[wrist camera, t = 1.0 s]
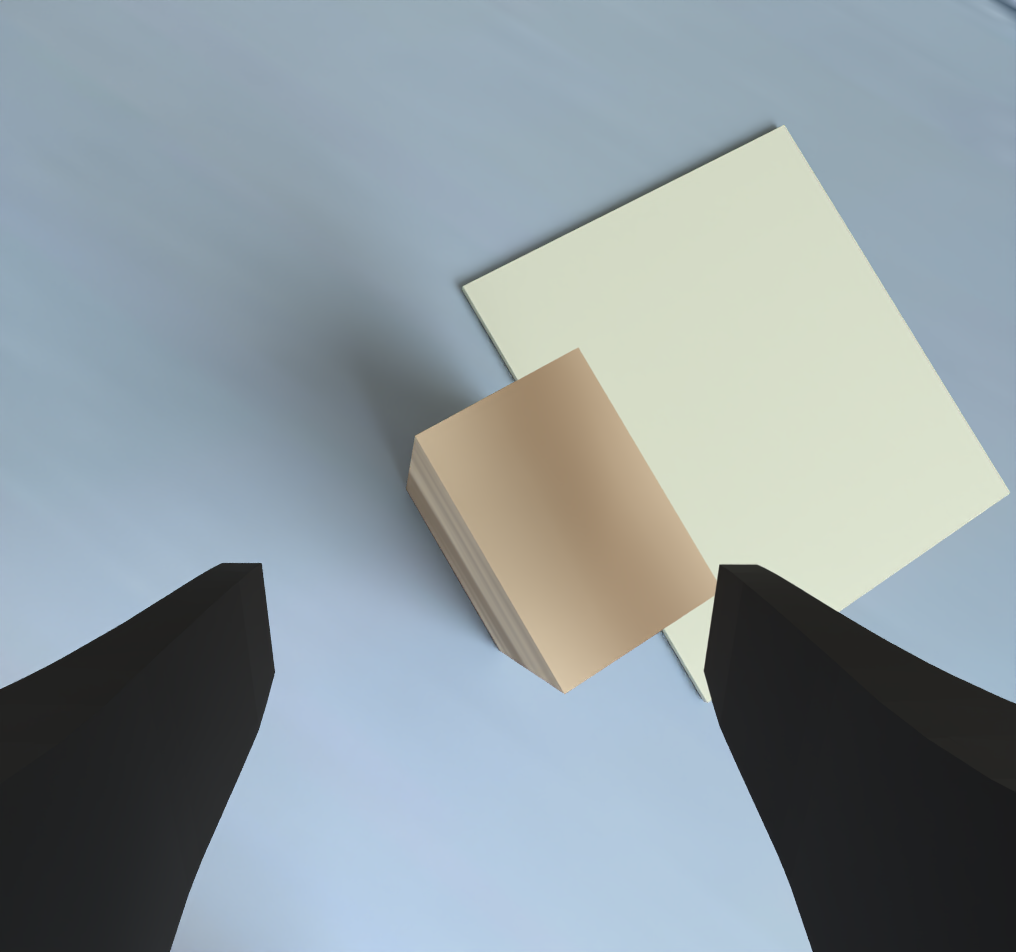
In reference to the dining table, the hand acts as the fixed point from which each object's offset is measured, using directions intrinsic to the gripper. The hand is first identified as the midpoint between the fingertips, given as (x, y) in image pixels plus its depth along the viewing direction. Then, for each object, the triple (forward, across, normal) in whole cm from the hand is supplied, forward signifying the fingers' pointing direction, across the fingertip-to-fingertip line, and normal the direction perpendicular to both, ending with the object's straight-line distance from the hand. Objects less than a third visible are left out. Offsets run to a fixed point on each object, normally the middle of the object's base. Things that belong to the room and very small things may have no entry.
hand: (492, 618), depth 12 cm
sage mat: (+15, -9, 0) cm, 18 cm away
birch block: (+12, -1, +4) cm, 12 cm away
